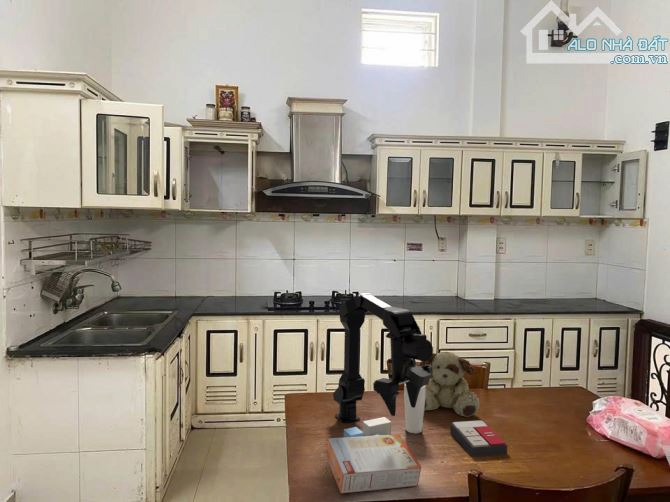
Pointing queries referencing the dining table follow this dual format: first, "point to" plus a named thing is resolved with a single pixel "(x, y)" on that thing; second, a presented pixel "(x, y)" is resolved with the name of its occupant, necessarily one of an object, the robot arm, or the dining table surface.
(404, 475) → the cracker box
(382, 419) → the plug
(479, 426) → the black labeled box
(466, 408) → the dog
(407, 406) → the drinking glass
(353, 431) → the plug
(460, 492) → the dining table surface
